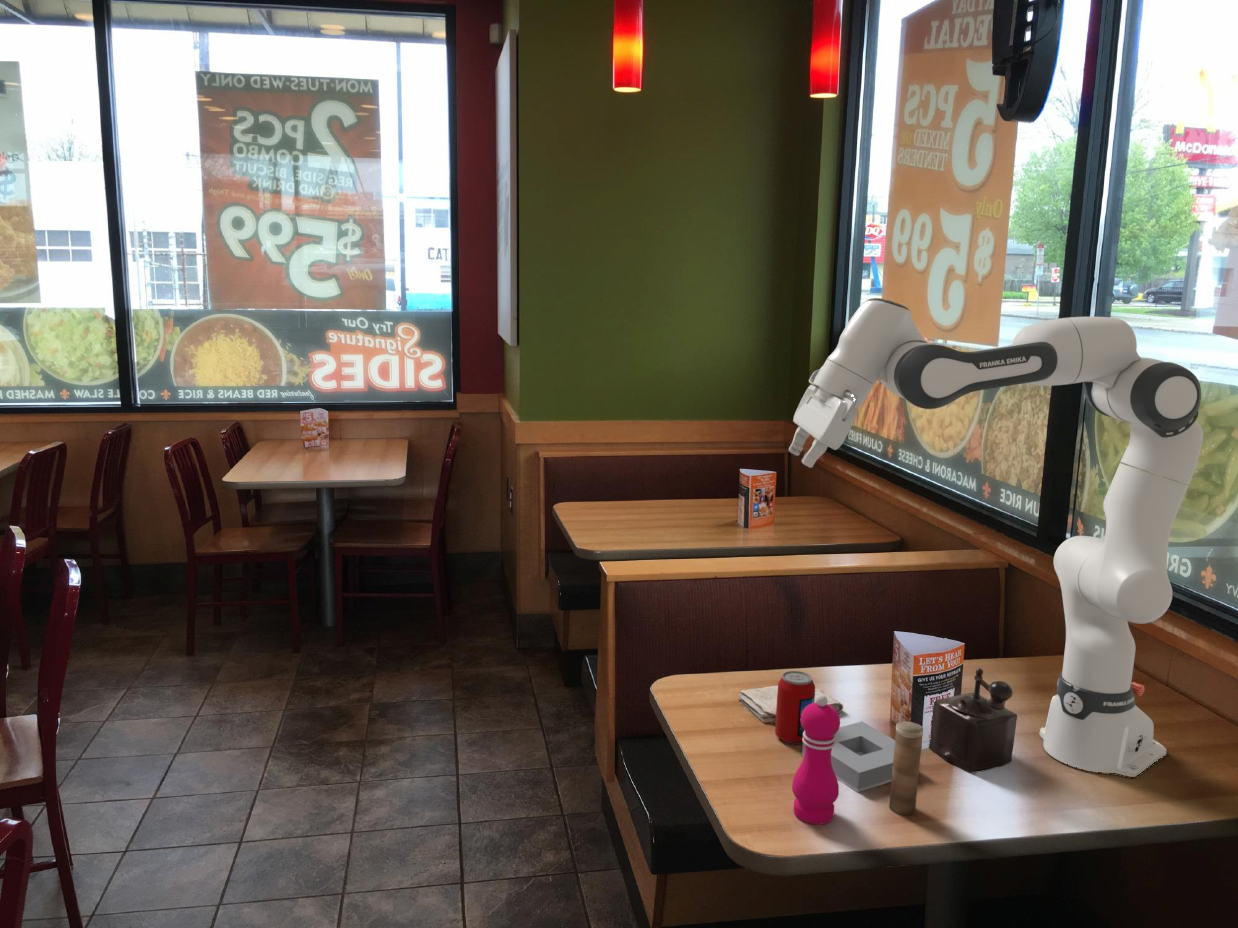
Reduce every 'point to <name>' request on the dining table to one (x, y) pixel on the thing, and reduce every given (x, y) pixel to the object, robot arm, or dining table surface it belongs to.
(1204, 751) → the dining table surface
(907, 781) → the dowel
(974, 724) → the manual coffee grinder
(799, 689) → the beverage can
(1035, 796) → the dining table surface
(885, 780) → the hole block
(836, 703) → the washcloth
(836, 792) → the pepper mill
